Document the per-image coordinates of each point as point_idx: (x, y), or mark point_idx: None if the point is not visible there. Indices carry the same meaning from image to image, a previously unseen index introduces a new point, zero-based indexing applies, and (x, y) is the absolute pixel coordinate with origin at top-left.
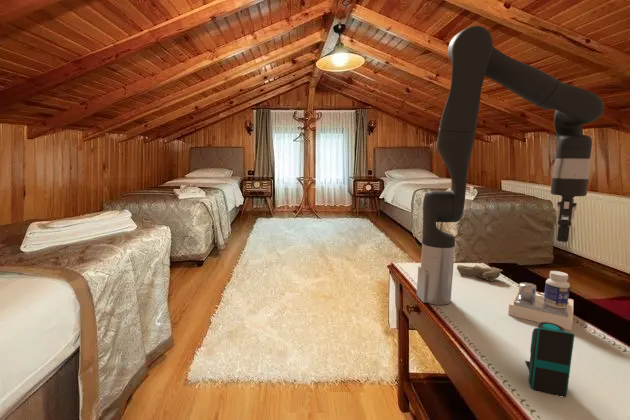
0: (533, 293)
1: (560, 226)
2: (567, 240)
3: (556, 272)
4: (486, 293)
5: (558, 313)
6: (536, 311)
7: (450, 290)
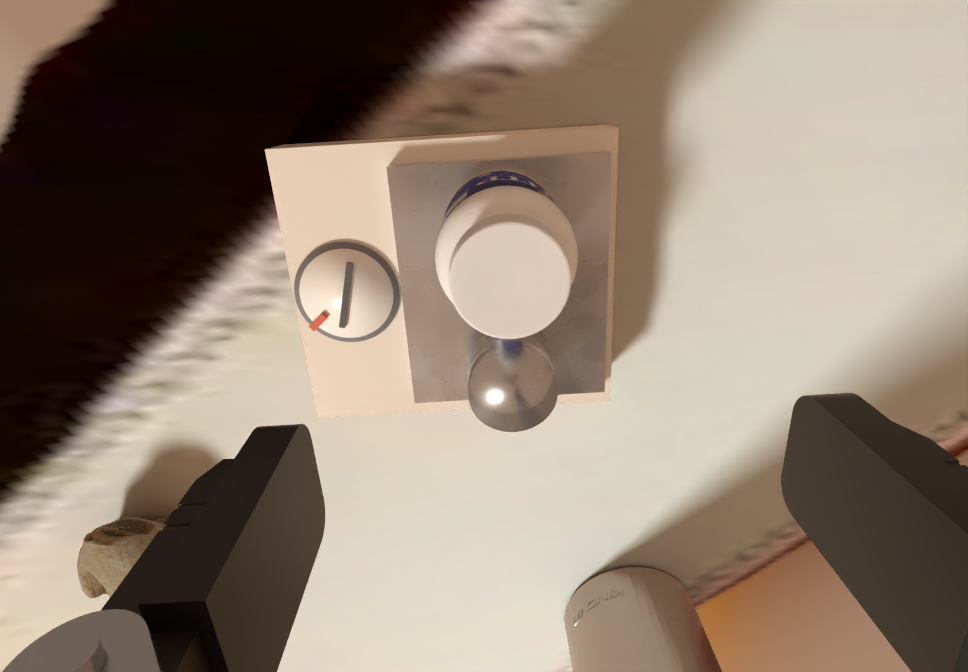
0: (535, 343)
1: (280, 645)
2: (858, 400)
3: (501, 300)
4: (389, 497)
5: (607, 197)
6: (612, 288)
7: (651, 613)
